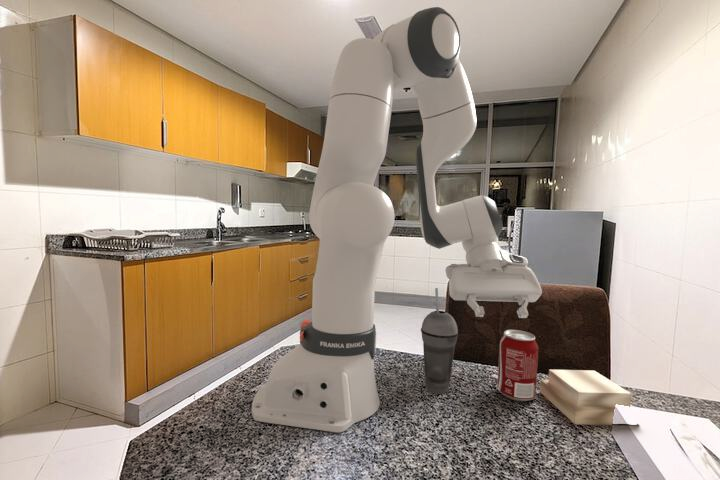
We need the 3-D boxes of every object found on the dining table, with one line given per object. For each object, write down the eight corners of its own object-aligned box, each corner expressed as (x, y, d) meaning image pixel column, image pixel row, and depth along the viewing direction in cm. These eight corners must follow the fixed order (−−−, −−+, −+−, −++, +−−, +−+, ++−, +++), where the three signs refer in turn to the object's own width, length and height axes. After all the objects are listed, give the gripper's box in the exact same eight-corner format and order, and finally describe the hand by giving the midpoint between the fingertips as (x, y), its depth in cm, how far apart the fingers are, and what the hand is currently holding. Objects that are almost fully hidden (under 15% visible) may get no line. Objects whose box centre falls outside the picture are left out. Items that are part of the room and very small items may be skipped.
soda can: (540, 406, 63) (543, 342, 62) (500, 401, 64) (504, 338, 64) (529, 389, 70) (533, 330, 69) (494, 384, 71) (497, 327, 70)
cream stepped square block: (574, 424, 58) (576, 395, 57) (539, 391, 69) (541, 367, 68) (639, 425, 58) (641, 396, 58) (594, 392, 69) (595, 368, 69)
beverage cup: (438, 401, 64) (443, 294, 63) (410, 385, 70) (414, 287, 69) (463, 390, 68) (468, 290, 67) (435, 376, 74) (439, 284, 73)
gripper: (447, 255, 81) (457, 307, 72) (533, 258, 81) (555, 309, 72) (441, 271, 86) (450, 322, 76) (523, 274, 86) (542, 324, 77)
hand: (502, 316), depth 74 cm, fingers open, 8 cm apart
